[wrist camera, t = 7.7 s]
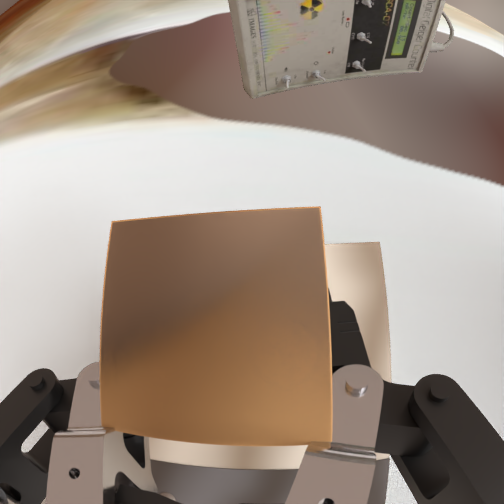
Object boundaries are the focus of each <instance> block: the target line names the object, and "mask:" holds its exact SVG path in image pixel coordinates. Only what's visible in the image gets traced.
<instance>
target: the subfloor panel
mask: <svg viewBox="0 0 504 504" xmlns="http://www.w3.org/2000/svg"><path fill="white" fill-rule="evenodd" d="M324 245H325V255H326V267H327V280H328V288H329V291H330V295H331V299H332V302H334V301H345V302H346V303H347V304H348V305H349V306H350V307H351V308H352V309H353V310H354V313H355V316H356V319H357V323H358V325H359V328H360V332H361V335H362V338H363V341H364V345H365V348H366V351H367V355H368V358H369V361H370V365H371V367H372V369H374V370H375V371H377V372H378V373H379V374H380V376H381V377H382V379H383V380H385V381H387V382H390V383H391V353H390V334H389V319H388V307H387V297H386V287H385V278H384V270H383V262H382V255H381V248H380V242H365V243H342V244H324ZM307 446H308V445H298V446H229V445H212V444H200V443H189V442H180V441H172V440H164V439H157V438H151V437H149V450H150V463H151V473H152V476H153V479H154V481H155V483H156V486H157V489H158V493H159V494H160V495H163V496H165V497H167V498H169V499H172V500H174V501H177V502H179V503H182V504H241V503H252V504H285V502H286V500H287V498H288V495H289V493H290V490H291V488H292V485H293V483H294V480H295V478H296V475H297V472H298V470H299V467H300V464H301V462H302V459H303V456H304V454H305V451H306V449H307ZM374 453H375V452H374ZM375 454H376V465H375V470H374V475H373V480H372V484H371V488H370V493H369V497H368V501H367V504H385V499H386V491H387V482H388V472H389V460H390V458H389V454H383V453H375Z"/></svg>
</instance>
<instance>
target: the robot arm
mask: <svg viewBox="0 0 504 504" xmlns="http://www.w3.org/2000/svg"><path fill="white" fill-rule="evenodd" d="M328 294H329V309H330V328H331V352H332V401H333V417H332V442H317V441H311V443H310V444H309V445H308V446H307V449H306V451H305V454H304V456H303V459H302V462H301V464H300V467H299V470H298V472H297V475H296V478H295V480H294V483H293V485H292V488H291V490H290V493H289V495H288V498H287V500H286V502H285V504H367V501H368V497H369V493H370V488H371V484H372V480H373V475H374V470H375V465H376V454H375V453H383V454H390V455H391V457H392V459H393V460H394V462H395V464H396V466H397V467H398V469H399V471H400V473H401V475H402V476H403V478H404V480H405V482H406V483H407V485H408V487H409V489H410V490H411V492H412V494H413V496H414V498H415V499H416V501H417V503H418V504H504V441H503V440H502V438H501V437H500V436H499V434H498V433H497V432H496V431H495V429H494V428H493V427H492V425H491V424H490V423H489V422H488V420H487V419H486V418H485V417H484V415H483V414H482V413H481V412H480V410H479V409H478V408H477V407H476V405H475V404H474V403H473V402H472V400H471V399H470V398H469V397H468V396H467V394H466V393H465V392H464V391H463V390H462V388H461V387H460V386H459V385H458V384H457V383H456V382H455V381H454V380H453V379H451V378H450V377H448V376H445V375H441V374H432V375H428V376H425V377H423V378H422V379H420V380H419V381H418V383H417V384H416V386H409V385H400V384H394V383H390V382H387V381H385V380H383V379H382V377H381V376H380V374H379V373H378V372H377V371H375V370H374V369H372V367H371V365H370V361H369V358H368V355H367V351H366V348H365V345H364V341H363V338H362V335H361V332H360V328H359V325H358V323H357V319H356V316H355V313H354V310H353V309H352V308H351V307H350V306H349V305H348V304H347V303H346V302H345V301H334V302H332V299H331V295H330V291H329V288H328ZM42 420H43V421H44V422H45V423H46V425H47V426H48V427H49V429H48V430H47V431H46V433H45V434H44V435H43V436H42V437H41V438H40V440H39V441H38V442H37V443H36V444H35V445H34V447H33V448H32V449H31V450H30V451H29V452H26V453H23V452H21V446H22V443H23V442H24V441H25V439H26V438H27V437H28V436H29V435H30V434H31V433H32V431H33V430H34V429H35V428H36V427H37V426H38V425H39V423H40V422H41V421H42ZM374 452H375V453H374ZM45 497H46V504H182V503H179V502H177V501H174V500H172V499H169V498H167V497H165V496H163V495H160V494H159V493H158V489H157V486H156V483H155V481H154V479H153V476H152V473H151V463H150V450H149V437H145V436H139V435H133V434H128V433H123V432H118V431H115V428H113V427H103V426H101V408H100V362H95V363H92V364H90V365H88V366H87V367H85V368H84V369H83V370H82V371H81V372H80V373H79V375H78V377H77V378H76V379H68V380H58V379H57V377H56V376H55V374H54V373H53V371H51V370H49V369H44V368H43V369H38V370H35V371H33V372H32V373H30V374H29V375H28V376H27V377H26V378H25V379H24V380H23V381H22V382H21V383H20V384H19V385H18V386H17V387H16V388H15V389H14V390H13V391H12V392H11V393H10V394H9V395H8V396H7V397H6V398H5V399H4V400H3V401H2V402H1V403H0V504H41V503H42V501H43V500H44V499H45ZM241 504H252V503H241Z"/></svg>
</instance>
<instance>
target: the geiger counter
mask: <svg viewBox="0 0 504 504" xmlns="http://www.w3.org/2000/svg"><path fill="white" fill-rule="evenodd" d="M445 1H446V0H228V2H229V8H230V13H231V18H232V24H233V30H234V35H235V41H236V46H237V51H238V57H239V63H240V69H241V75H242V81H243V86H244V90H245V91H246V92H247V94H248V95H249V96H250V97H251V98H252V99H253V98H257V97H261V96H266V95H270V94H274V93H278V92H283V91H287V90H292V89H297V88H301V87H307V86H312V85H318V84H324V83H329V82H336V81H342V80H349V79H356V78H363V77H373V76H382V75H393V74H405V73H420V72H422V70H423V67H424V65H425V62H426V59H427V56H428V53H429V52H437V51H443V50H444V48H446V47H447V46H448V45H450V43H451V42H452V40H453V35H454V30H453V27H452V24H451V22H450V20H449V18H448V17H447V15H446V14H445V13H444V11H443V8H444V4H445ZM441 14H442V15H443V16H444V18H445V19H446V21H447V23H448V25H449V28H450V37H449V40H448V41H447V42H446V43H445V44H442V43H435V42H433V39H434V36H435V33H436V30H437V27H438V24H439V21H440V17H441Z"/></svg>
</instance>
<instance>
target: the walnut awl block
mask: <svg viewBox="0 0 504 504" xmlns="http://www.w3.org/2000/svg"><path fill="white" fill-rule="evenodd" d="M100 408H101V426H103V427H113V428H115V431H118V432H123V433H128V434H133V435H139V436H145V437H151V438H157V439H164V440H172V441H180V442H189V443H200V444H212V445H229V446H298V445H309V444H310V443H311V441H317V442H332V417H333V401H332V352H331V328H330V309H329V294H328V280H327V267H326V255H325V245H324V234H323V225H322V215H321V207H320V206H319V207H295V208H275V209H257V210H240V211H225V212H211V213H197V214H185V215H173V216H161V217H150V218H140V219H129V220H120V221H112V223H111V230H110V237H109V244H108V251H107V259H106V267H105V277H104V287H103V299H102V313H101V332H100Z"/></svg>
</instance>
